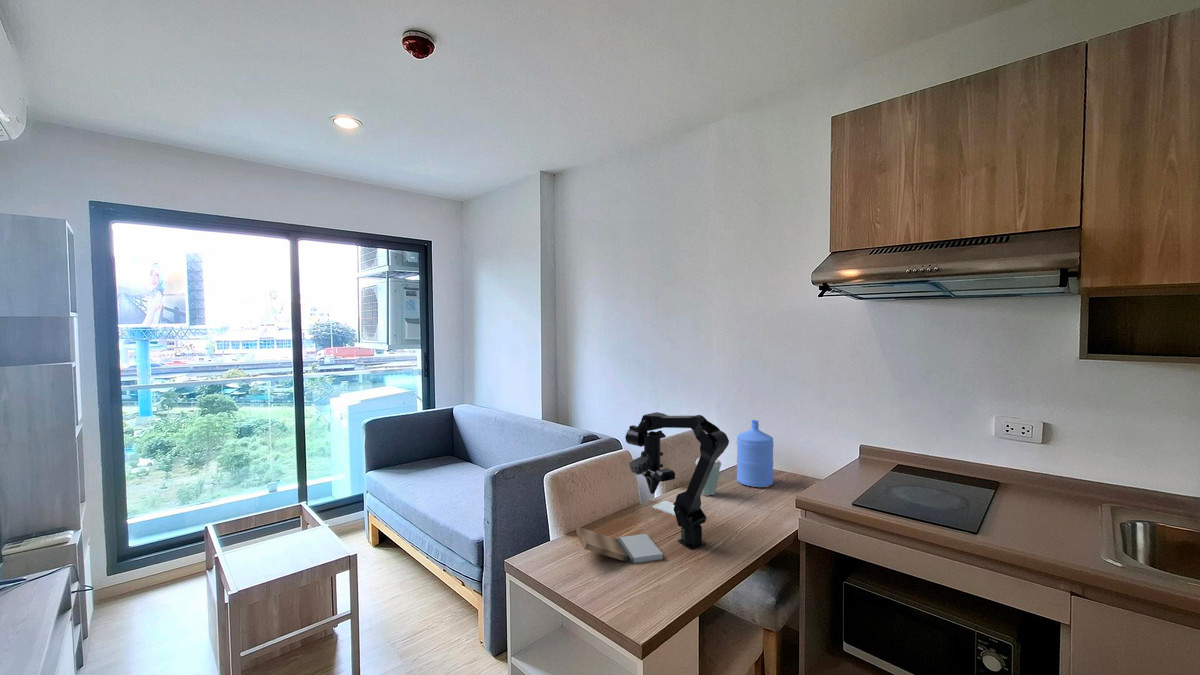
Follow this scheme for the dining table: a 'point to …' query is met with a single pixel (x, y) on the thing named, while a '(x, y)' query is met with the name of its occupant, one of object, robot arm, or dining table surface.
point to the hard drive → (665, 507)
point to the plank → (601, 544)
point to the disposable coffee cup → (711, 479)
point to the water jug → (755, 457)
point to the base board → (640, 548)
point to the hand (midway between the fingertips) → (652, 493)
